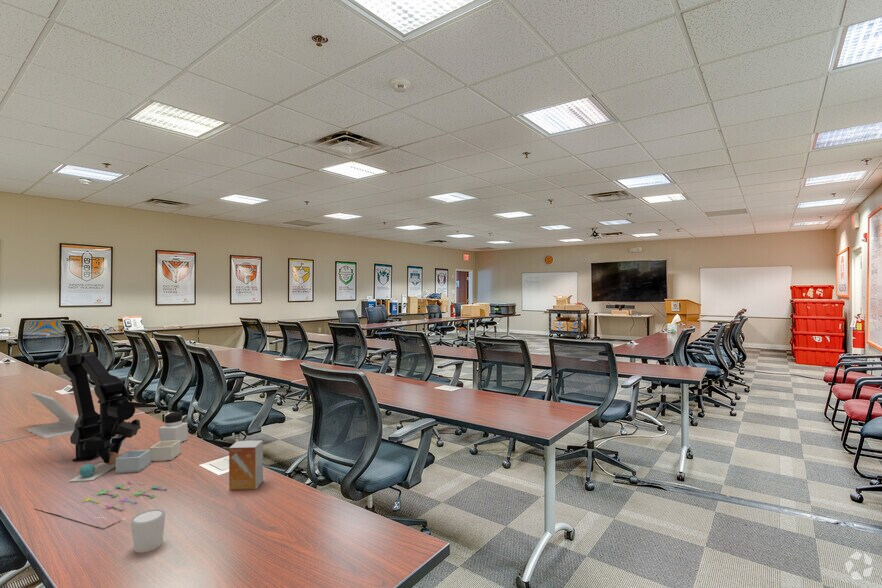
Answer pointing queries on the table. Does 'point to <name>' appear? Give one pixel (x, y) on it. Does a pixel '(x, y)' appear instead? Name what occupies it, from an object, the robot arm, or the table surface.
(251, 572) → the table surface
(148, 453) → the grey open box
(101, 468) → the mat
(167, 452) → the open cream box
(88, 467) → the teal ball
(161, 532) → the white oval container
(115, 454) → the terracotta ball
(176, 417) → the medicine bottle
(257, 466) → the small box
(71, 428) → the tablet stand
